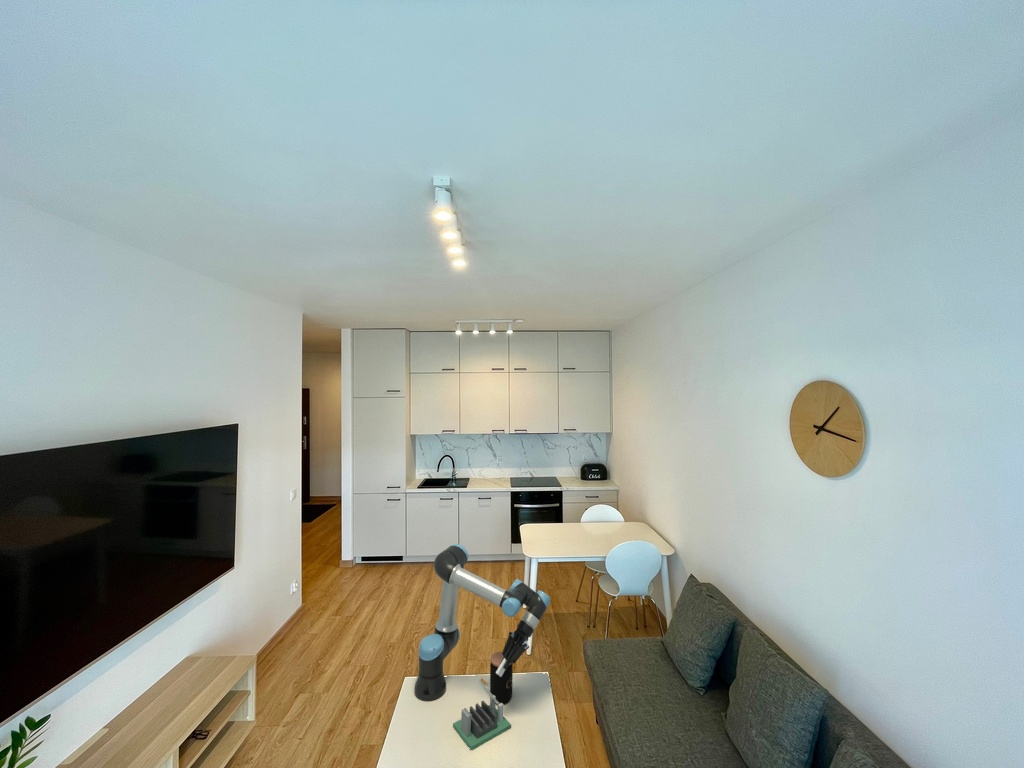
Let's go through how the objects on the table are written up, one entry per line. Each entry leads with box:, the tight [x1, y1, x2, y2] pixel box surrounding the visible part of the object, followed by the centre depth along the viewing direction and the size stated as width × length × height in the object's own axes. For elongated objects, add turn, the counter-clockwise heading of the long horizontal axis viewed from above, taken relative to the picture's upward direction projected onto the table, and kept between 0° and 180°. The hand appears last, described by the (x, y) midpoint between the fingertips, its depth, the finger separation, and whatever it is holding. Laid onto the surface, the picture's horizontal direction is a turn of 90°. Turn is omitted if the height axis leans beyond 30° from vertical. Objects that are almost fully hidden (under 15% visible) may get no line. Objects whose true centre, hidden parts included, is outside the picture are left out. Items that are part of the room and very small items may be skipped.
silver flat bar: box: [478, 677, 500, 707], centre depth 179 cm, size 4×15×2 cm
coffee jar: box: [489, 651, 514, 705], centre depth 195 cm, size 11×11×18 cm
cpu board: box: [452, 695, 512, 751], centre depth 176 cm, size 15×20×10 cm
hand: (498, 674), depth 181 cm, fingers closed
